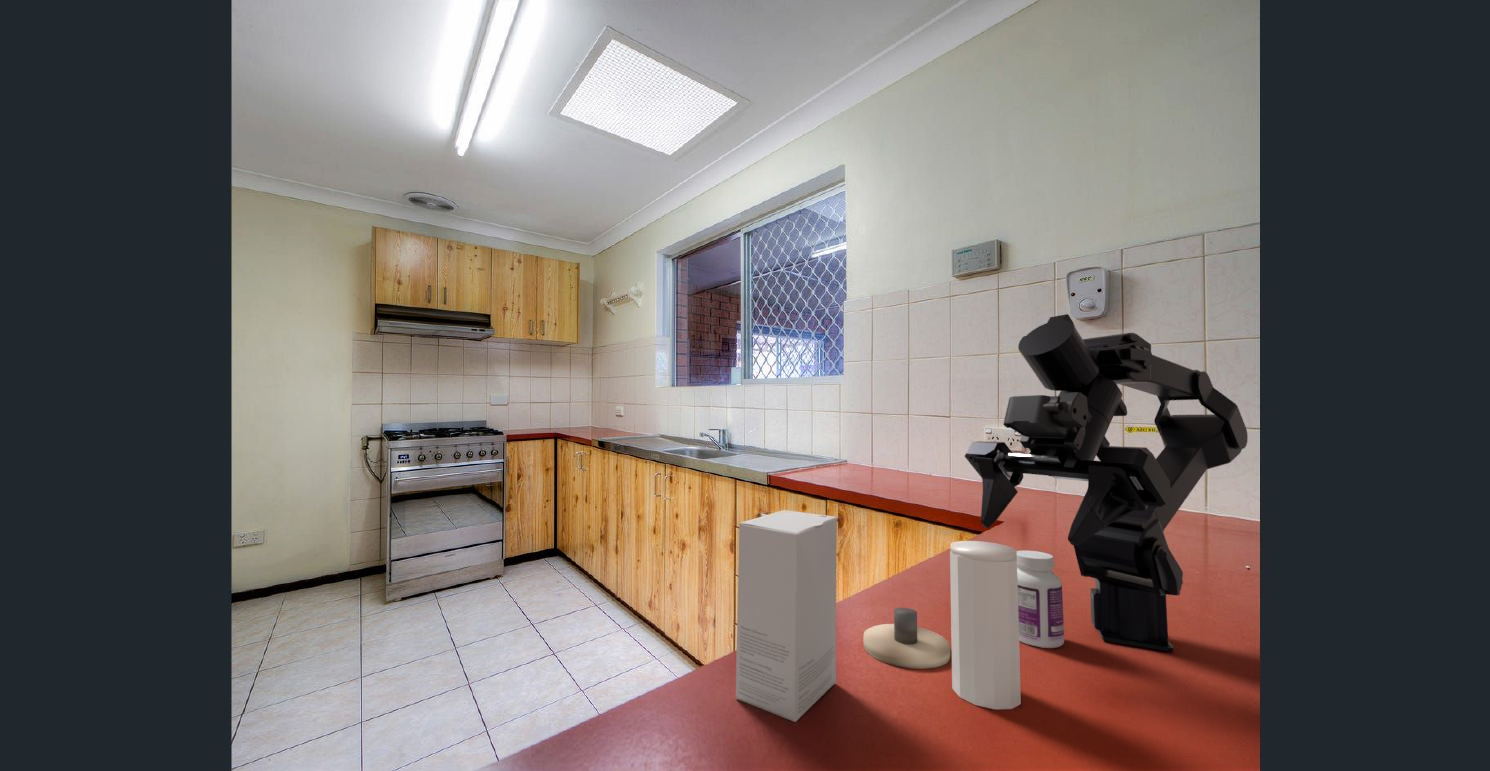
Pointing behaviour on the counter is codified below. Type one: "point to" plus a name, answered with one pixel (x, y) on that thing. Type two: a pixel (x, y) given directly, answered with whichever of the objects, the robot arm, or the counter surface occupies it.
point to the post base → (906, 643)
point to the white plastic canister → (985, 624)
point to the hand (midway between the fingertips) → (1024, 533)
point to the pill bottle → (1039, 600)
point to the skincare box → (786, 611)
